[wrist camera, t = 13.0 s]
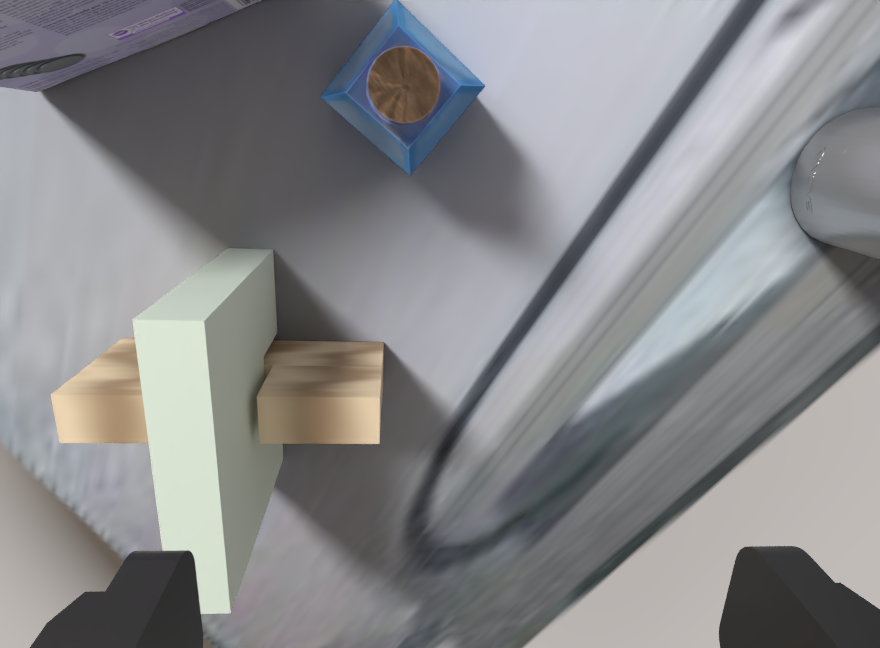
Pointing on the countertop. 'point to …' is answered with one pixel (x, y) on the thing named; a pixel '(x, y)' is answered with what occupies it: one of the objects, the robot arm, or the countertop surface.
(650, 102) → the countertop surface
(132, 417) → the oak u-shaped block
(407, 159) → the perfume bottle
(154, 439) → the sage board
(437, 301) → the countertop surface
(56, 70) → the cake pan box
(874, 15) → the countertop surface
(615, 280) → the countertop surface
